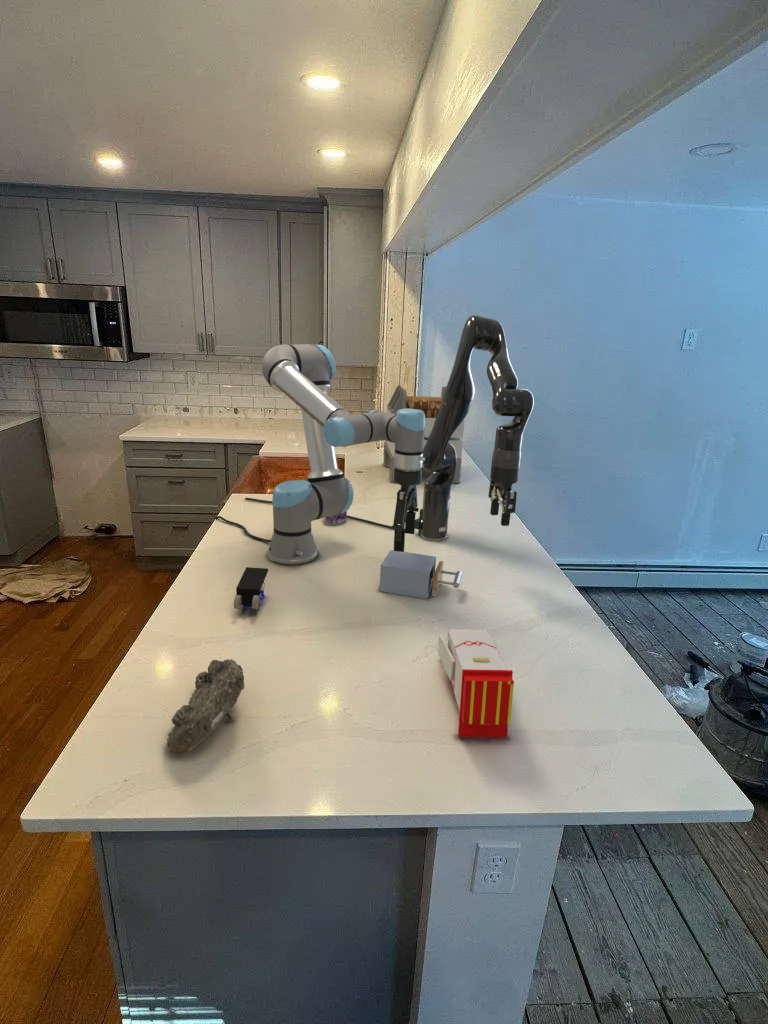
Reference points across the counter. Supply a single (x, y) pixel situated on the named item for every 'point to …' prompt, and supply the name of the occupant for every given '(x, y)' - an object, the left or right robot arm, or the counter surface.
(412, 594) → the cabinet
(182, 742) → the fossil
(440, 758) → the counter surface
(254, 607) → the black wheeled rover
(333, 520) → the figurine
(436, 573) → the drawer
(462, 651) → the toy
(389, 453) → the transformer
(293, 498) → the left robot arm
